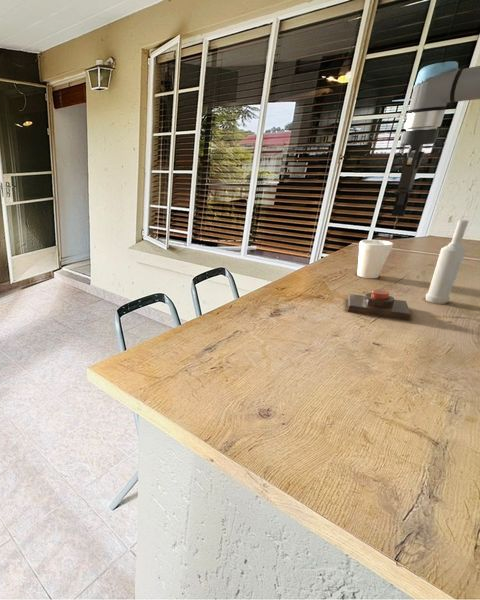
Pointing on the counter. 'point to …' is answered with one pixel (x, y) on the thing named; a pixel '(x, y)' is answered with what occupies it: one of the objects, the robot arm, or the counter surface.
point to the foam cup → (372, 257)
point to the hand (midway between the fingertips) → (397, 215)
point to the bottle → (447, 267)
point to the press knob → (380, 294)
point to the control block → (378, 306)
